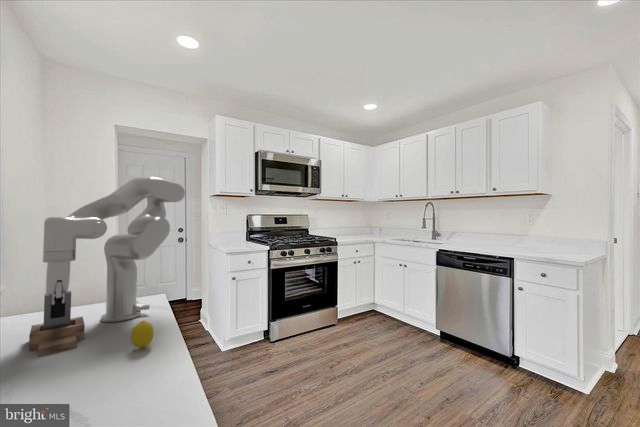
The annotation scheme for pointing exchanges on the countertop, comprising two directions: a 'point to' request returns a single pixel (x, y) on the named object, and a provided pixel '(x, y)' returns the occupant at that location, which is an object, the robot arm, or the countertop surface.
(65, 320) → the bracket
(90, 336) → the countertop surface
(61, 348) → the socket
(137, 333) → the lemon
